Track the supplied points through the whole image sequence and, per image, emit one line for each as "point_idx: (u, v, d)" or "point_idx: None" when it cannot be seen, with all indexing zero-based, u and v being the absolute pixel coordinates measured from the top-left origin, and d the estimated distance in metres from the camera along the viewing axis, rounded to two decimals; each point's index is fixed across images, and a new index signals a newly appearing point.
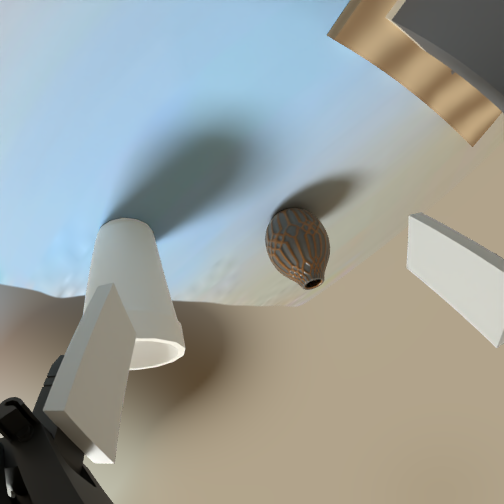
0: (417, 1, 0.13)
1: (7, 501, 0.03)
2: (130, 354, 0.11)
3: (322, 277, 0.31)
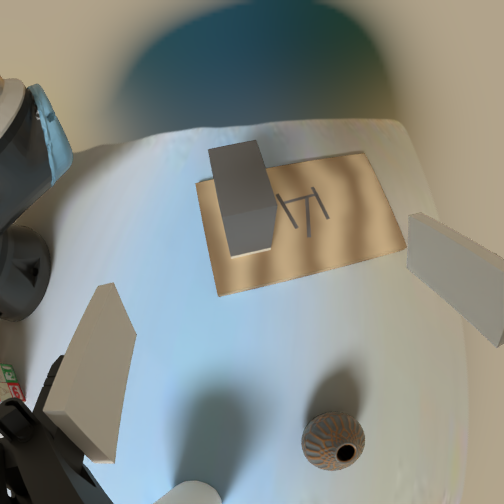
0: None
1: (7, 502, 0.03)
2: (130, 354, 0.11)
3: (347, 441, 0.24)
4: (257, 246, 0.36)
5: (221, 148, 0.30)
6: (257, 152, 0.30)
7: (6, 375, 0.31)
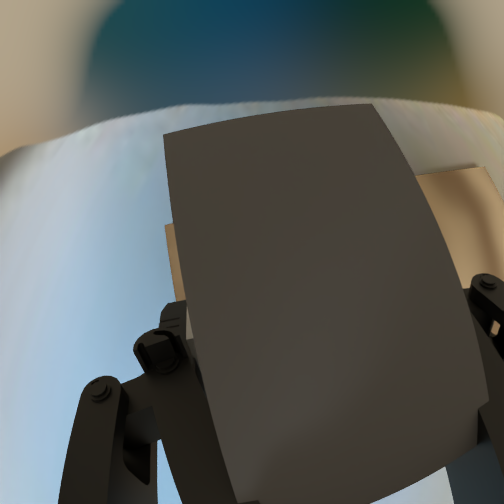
0: None
1: (120, 461, 0.05)
2: None
3: None
4: None
5: (226, 126, 0.06)
6: (393, 156, 0.06)
7: None
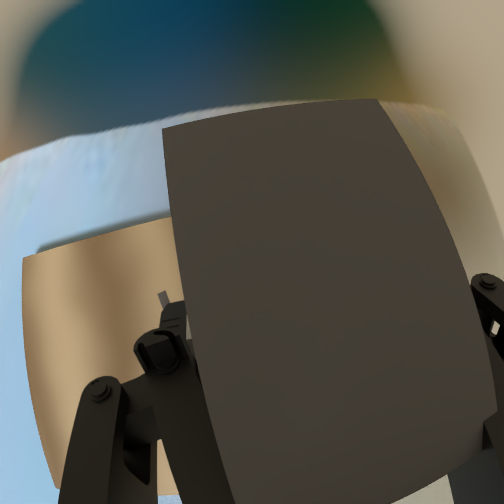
0: None
1: (120, 461, 0.05)
2: None
3: None
4: None
5: (228, 120, 0.06)
6: (399, 152, 0.06)
7: None
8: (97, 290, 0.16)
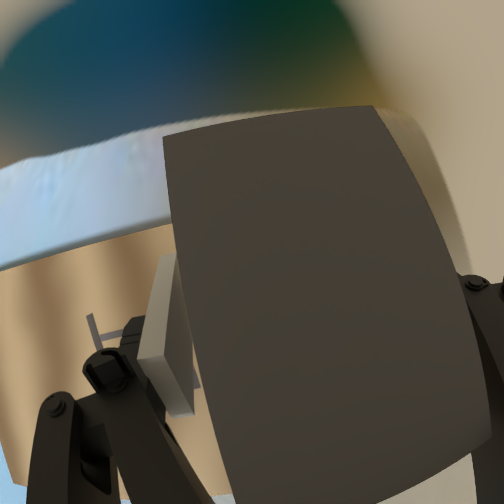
0: None
1: (78, 472, 0.04)
2: None
3: None
4: None
5: (226, 129, 0.06)
6: (394, 158, 0.06)
7: None
8: (39, 310, 0.16)
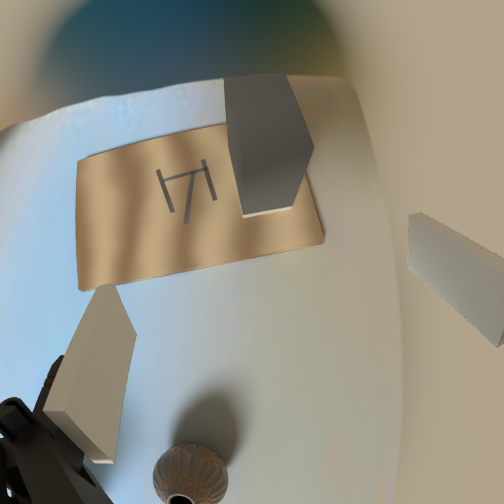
0: (237, 187, 0.30)
1: (7, 501, 0.03)
2: (130, 354, 0.11)
3: (182, 492, 0.17)
4: (277, 203, 0.29)
5: (241, 77, 0.22)
6: (286, 85, 0.22)
7: None
8: (124, 171, 0.32)
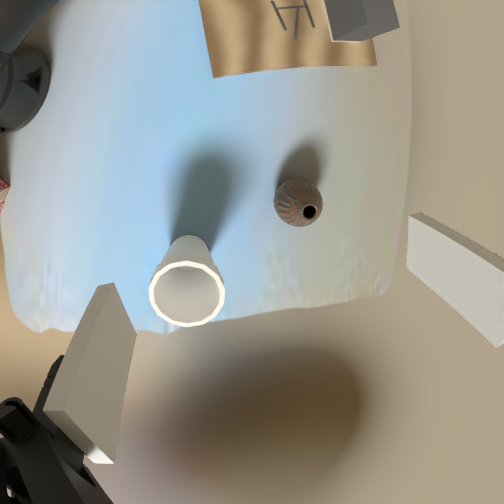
0: (333, 24, 0.34)
1: (7, 501, 0.03)
2: (130, 354, 0.11)
3: (311, 203, 0.39)
4: (356, 39, 0.36)
5: None
6: None
7: None
8: None
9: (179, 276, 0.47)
